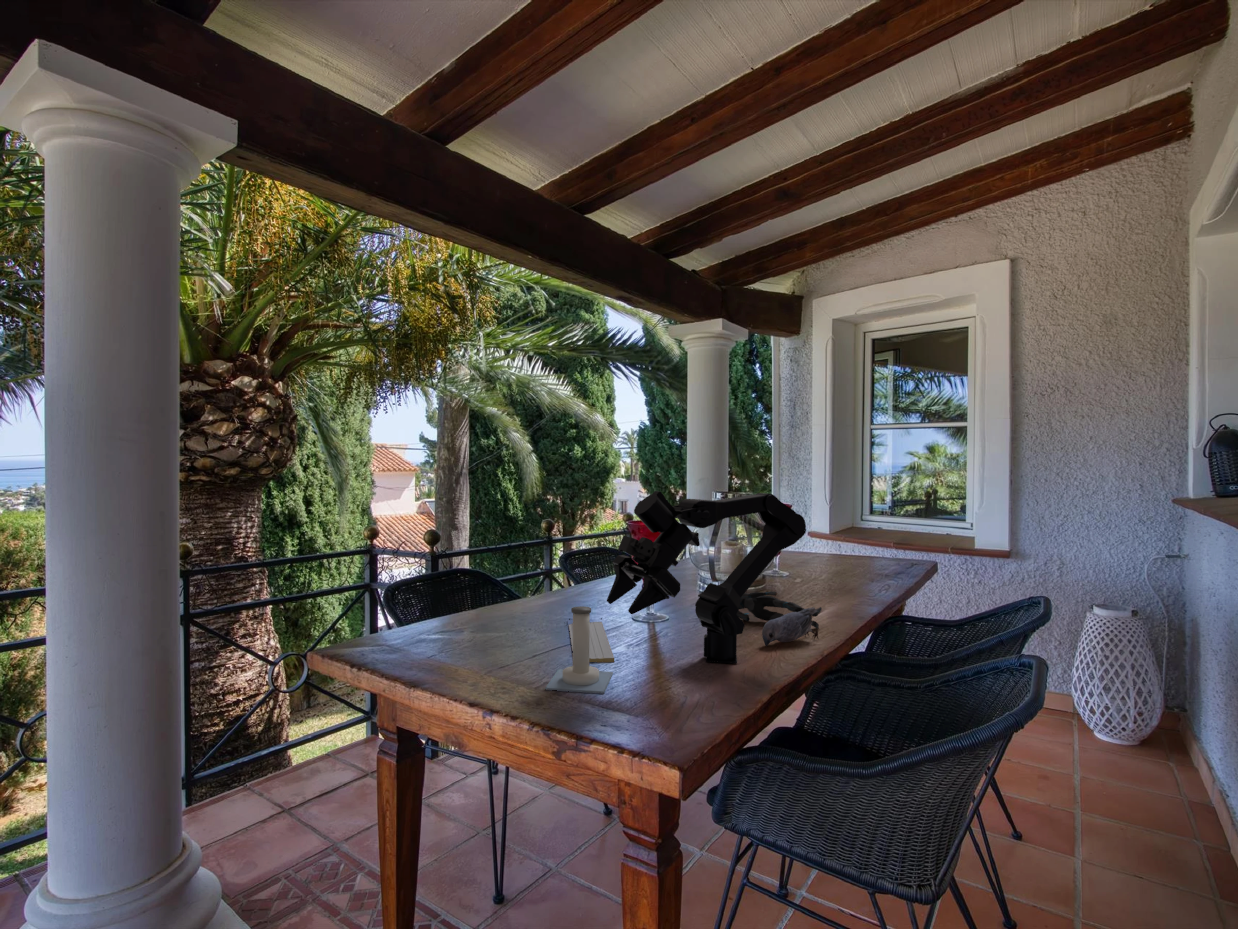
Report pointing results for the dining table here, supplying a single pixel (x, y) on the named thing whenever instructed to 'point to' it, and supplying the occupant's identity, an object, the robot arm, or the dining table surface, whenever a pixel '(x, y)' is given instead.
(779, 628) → the bird
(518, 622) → the dining table surface
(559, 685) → the felt pad
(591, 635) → the baseboard
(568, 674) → the paper towel holder
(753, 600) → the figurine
